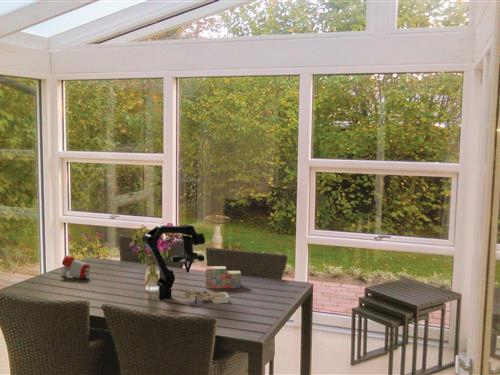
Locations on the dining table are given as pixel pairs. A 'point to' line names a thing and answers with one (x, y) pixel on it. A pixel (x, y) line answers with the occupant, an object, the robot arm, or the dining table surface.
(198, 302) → the fulcrum
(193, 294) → the lever
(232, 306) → the dining table surface
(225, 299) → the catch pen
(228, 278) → the stack of blocks
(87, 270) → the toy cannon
